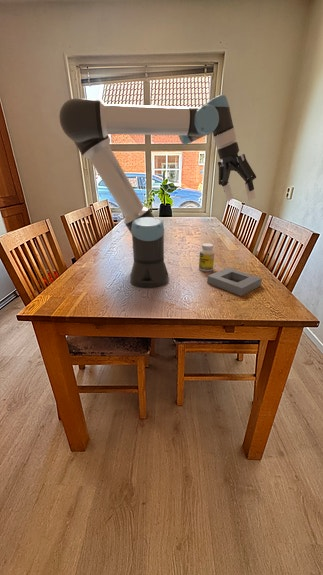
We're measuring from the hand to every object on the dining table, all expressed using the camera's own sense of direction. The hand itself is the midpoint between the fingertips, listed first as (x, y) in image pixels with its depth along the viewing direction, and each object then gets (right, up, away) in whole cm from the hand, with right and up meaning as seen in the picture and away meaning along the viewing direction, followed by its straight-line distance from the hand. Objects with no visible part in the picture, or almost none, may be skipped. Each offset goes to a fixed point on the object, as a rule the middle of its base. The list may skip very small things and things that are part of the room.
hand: (240, 199), depth 103 cm
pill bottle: (-13, -29, +6) cm, 32 cm away
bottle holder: (-5, -35, -8) cm, 37 cm away
